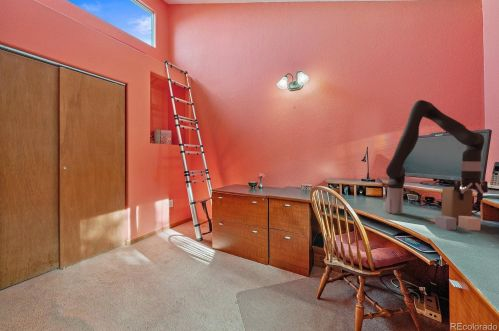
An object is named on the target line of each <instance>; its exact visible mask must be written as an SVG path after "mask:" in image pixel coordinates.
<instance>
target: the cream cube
mask: <svg viewBox="0 0 499 331" xmlns="http://www.w3.org/2000/svg"><path fill="white" fill-rule="evenodd" d="M481 219H482V218H478V217H476V216H473V215H472V216H459V220H458V225H457V226H458V227H460V228H462V229H464V230H466V231H481V225H482V224H481V222H482V220H481Z"/></svg>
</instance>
